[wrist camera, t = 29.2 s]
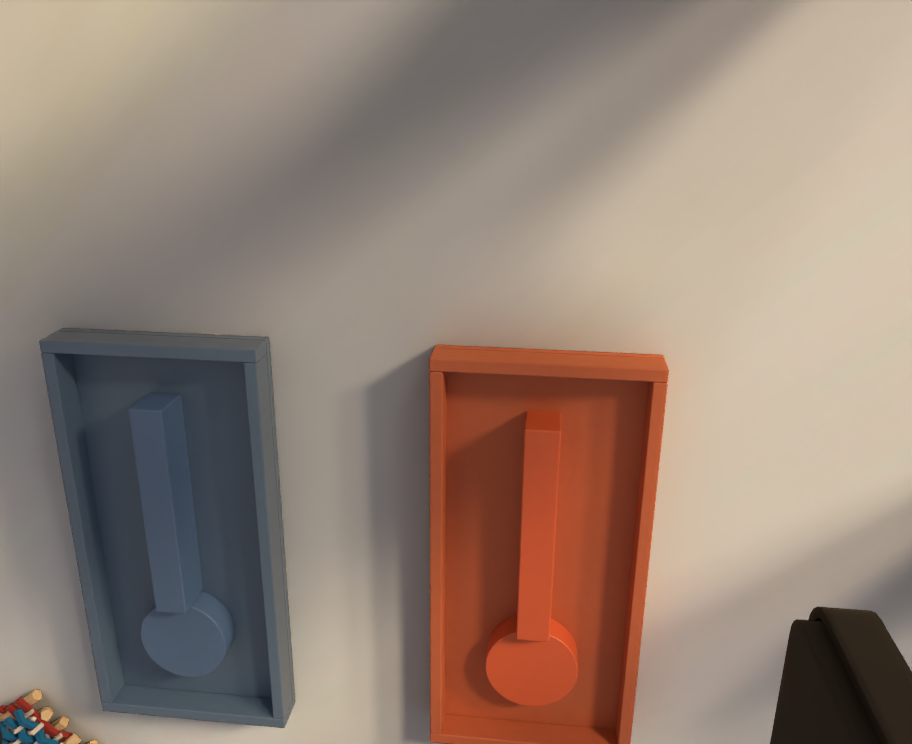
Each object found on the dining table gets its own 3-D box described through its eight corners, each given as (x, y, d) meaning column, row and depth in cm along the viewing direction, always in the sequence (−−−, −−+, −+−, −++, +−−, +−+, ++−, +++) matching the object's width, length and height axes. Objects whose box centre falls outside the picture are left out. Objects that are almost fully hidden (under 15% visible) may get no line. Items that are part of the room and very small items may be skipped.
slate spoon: (120, 390, 40) (96, 407, 38) (211, 394, 40) (192, 412, 37) (157, 656, 45) (138, 684, 43) (238, 663, 45) (223, 691, 43)
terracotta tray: (435, 344, 38) (429, 358, 36) (663, 354, 37) (669, 369, 35) (435, 714, 45) (429, 742, 43) (625, 732, 44) (628, 761, 42)
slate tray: (62, 327, 40) (38, 340, 38) (269, 336, 39) (254, 350, 37) (120, 685, 47) (102, 711, 45) (295, 701, 46) (284, 728, 44)
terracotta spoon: (493, 408, 38) (489, 427, 36) (594, 413, 38) (596, 433, 36) (486, 683, 43) (482, 714, 41) (575, 691, 43) (575, 722, 41)
